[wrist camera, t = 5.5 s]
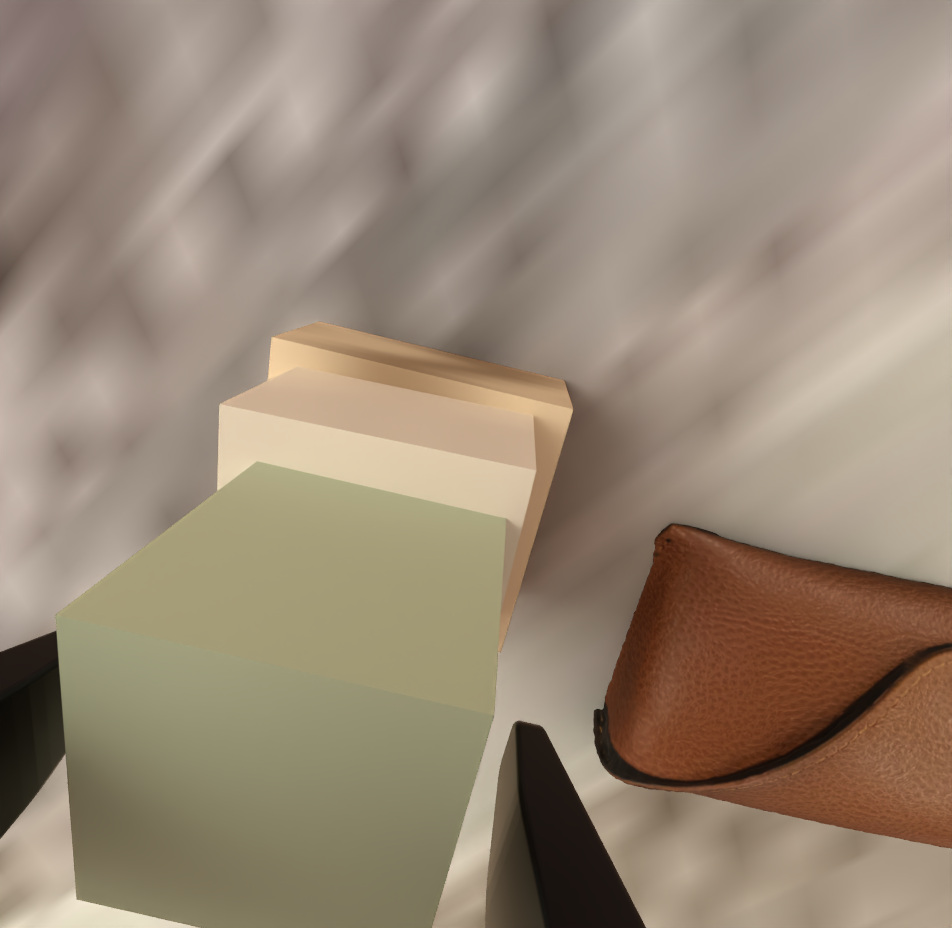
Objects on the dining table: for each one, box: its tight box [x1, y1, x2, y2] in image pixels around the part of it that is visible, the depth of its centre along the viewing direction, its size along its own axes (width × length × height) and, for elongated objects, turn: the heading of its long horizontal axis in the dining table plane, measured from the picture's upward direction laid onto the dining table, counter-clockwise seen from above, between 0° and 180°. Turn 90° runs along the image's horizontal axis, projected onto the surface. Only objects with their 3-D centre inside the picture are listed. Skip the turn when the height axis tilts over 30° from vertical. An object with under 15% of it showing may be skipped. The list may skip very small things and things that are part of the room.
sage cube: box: [55, 461, 506, 928], centre depth 8 cm, size 4×4×4 cm
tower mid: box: [217, 366, 536, 614], centre depth 12 cm, size 6×6×4 cm
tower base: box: [268, 322, 573, 652], centre depth 15 cm, size 7×7×4 cm
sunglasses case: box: [593, 524, 952, 848], centre depth 17 cm, size 18×7×7 cm, turn 82°
